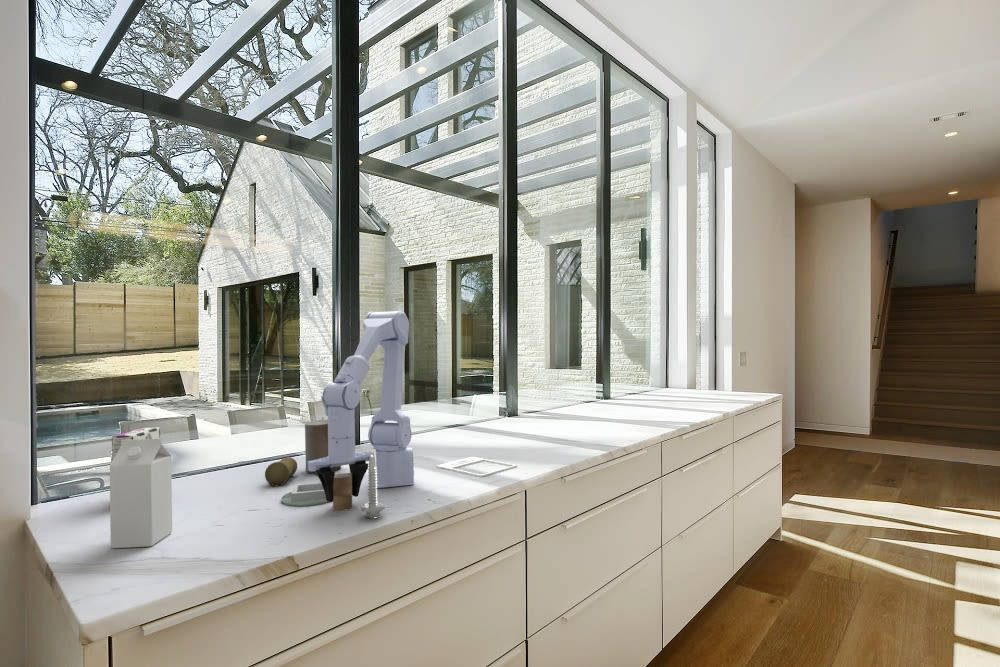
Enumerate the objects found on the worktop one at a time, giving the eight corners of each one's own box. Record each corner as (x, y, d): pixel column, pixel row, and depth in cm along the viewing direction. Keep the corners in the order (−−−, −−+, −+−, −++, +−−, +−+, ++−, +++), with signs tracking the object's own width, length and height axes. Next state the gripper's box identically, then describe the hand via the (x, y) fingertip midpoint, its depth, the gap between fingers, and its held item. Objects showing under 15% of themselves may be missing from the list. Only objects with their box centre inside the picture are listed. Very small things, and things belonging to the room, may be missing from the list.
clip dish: (339, 487, 134) (339, 478, 134) (340, 502, 121) (340, 492, 121) (284, 492, 130) (284, 483, 130) (278, 509, 117) (278, 498, 117)
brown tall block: (351, 503, 121) (351, 472, 121) (352, 508, 117) (351, 476, 117) (333, 505, 119) (332, 474, 119) (333, 510, 116) (332, 478, 116)
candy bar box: (141, 494, 131) (140, 427, 131) (162, 493, 131) (161, 426, 132) (111, 508, 120) (110, 435, 120) (134, 507, 120) (133, 434, 120)
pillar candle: (348, 468, 154) (347, 416, 155) (320, 475, 146) (319, 420, 146) (325, 464, 160) (324, 414, 160) (297, 471, 151) (296, 418, 152)
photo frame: (472, 456, 164) (517, 464, 152) (472, 459, 164) (517, 468, 152) (436, 464, 153) (481, 474, 141) (436, 468, 153) (481, 479, 141)
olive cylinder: (282, 457, 137) (294, 450, 148) (260, 469, 136) (273, 461, 147) (293, 478, 137) (304, 469, 148) (271, 490, 136) (284, 480, 147)
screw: (376, 511, 115) (389, 516, 111) (356, 517, 111) (369, 522, 108) (375, 450, 115) (388, 453, 111) (355, 454, 111) (368, 457, 108)
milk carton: (133, 534, 103) (132, 436, 103) (172, 533, 104) (171, 435, 104) (110, 549, 96) (109, 443, 96) (151, 547, 97) (150, 442, 97)
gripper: (363, 430, 126) (364, 488, 126) (302, 438, 117) (303, 501, 116) (377, 434, 121) (378, 494, 120) (314, 443, 111) (315, 508, 111)
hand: (342, 498), depth 118 cm, fingers closed on brown tall block, 5 cm apart
